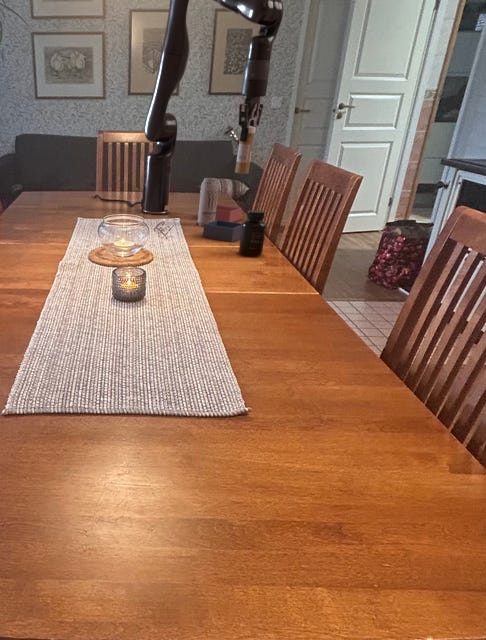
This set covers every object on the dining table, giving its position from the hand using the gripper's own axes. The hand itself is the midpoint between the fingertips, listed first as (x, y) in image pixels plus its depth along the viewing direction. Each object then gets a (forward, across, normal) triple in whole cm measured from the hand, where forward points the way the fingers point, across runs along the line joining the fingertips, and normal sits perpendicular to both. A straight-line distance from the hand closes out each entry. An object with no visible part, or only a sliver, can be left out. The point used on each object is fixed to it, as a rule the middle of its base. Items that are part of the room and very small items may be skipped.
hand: (246, 140), depth 189 cm
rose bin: (+28, -17, -12) cm, 34 cm away
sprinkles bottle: (+10, 0, 0) cm, 10 cm away
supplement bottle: (+27, +28, +18) cm, 43 cm away
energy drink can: (+28, -3, -12) cm, 30 cm away
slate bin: (+27, +11, +2) cm, 30 cm away
